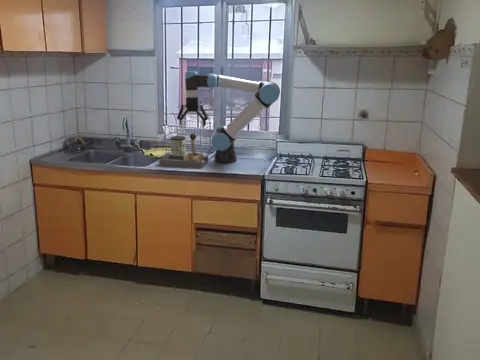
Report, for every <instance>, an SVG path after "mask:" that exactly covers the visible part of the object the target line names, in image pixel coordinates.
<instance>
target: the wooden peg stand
mask: <svg viewBox="0 0 480 360" xmlns="http://www.w3.org/2000/svg"><path fill="white" fill-rule="evenodd" d="M189 138H190V145H191V148H190V150H191V152H186V155H184V160H186V161H203V156H204V152H196V138H197V134H195V133H191V134H190V135H189Z"/></svg>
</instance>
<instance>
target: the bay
mask: <svg viewBox="0 0 480 360" xmlns="http://www.w3.org/2000/svg"><path fill="white" fill-rule="evenodd" d="M158 163H159V164H158V165H159V167H170V166H174V167H173V168H188V167H192V168H191V169H202V168H203V167H205V166H206V165H207V164H208V163H209V156H207V155H203V161H186V160H184V155H172V154H171V153H170V152H166V153H165V154H162V155H160V159H159V162H158Z"/></svg>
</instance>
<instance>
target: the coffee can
mask: <svg viewBox="0 0 480 360" xmlns="http://www.w3.org/2000/svg"><path fill="white" fill-rule="evenodd" d="M169 138H170V149H171V150H170V152H171V153H170V154H172V155H186V154H187V150H186V149H187V147H186V142H187V141H186V139H187V138H186V137H185V135H184V136H183V135H176V136H175V135H174V136H170V137H169Z"/></svg>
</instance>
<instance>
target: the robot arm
mask: <svg viewBox="0 0 480 360" xmlns="http://www.w3.org/2000/svg"><path fill="white" fill-rule="evenodd" d="M184 74H185V75H184V81H185V85H184V86H185V103H183V104H181V106H180V110H179V112H178V114H177V117H176V119H177V120H179V125H180V126H181V131H185V120H184V118H185V117H186V115H187V114H188V113H189V112H190V113H196V114H197V115H198V116H199V117H200V119H201V131H202V132H204V131H205V126H206V121H207V120H209V116H208V115H207V112H206V110H205V107H204V105H203V104H200V105H199V97H198V96H199V90H198V88H211V89H212V88H216V87H217V88H221V89H228V90H233V91H238V92H242V93H247V94H253V99H252V100H251V101H250V102H249V103H248V104H247V106H245V107H244V108H243V109H242V110H241V111H240V112H239V113H238V114H237V115H236V116H235V117H234V118H233V119H231V121H230V122H229V124H227V125H223V126H217V127H216V129H215V132H216V133H215V134H213V136H212V138H211V144H212V147H213V148H214V149H215V150H216V151H215V154H214V162H215V163H219V164H229V163H235V162H236V161H237V158H238V157H237V154H236V151H235V141H236V140H237V139H238V135H239V134H240V133H241V132H242V131H243V130H244V129H245V128H246V127H247V126H249V124H251V122H252V121H253V120H254V119H255V118H256V117H257V116H258V115H259V114H260V113H261V112H262V111H263V110H267V109H269V108H270V106H272V105H273V104H274V103H276V102H277V101H278V99H279V97H280V94H281V89H280V87H279V85H278V84H277V83H275V82H274V81H273V82H272V81H262V80H259V81H252V80H246V79H243V78H238V77H232V76H226V75H220V74H217V73H216V74H215V73H208V74H199V73H198V72H197V71H194V70H193V71H185V73H184ZM185 108H186V109H185ZM184 109H185V111H184ZM183 111H184V112H183Z"/></svg>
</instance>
